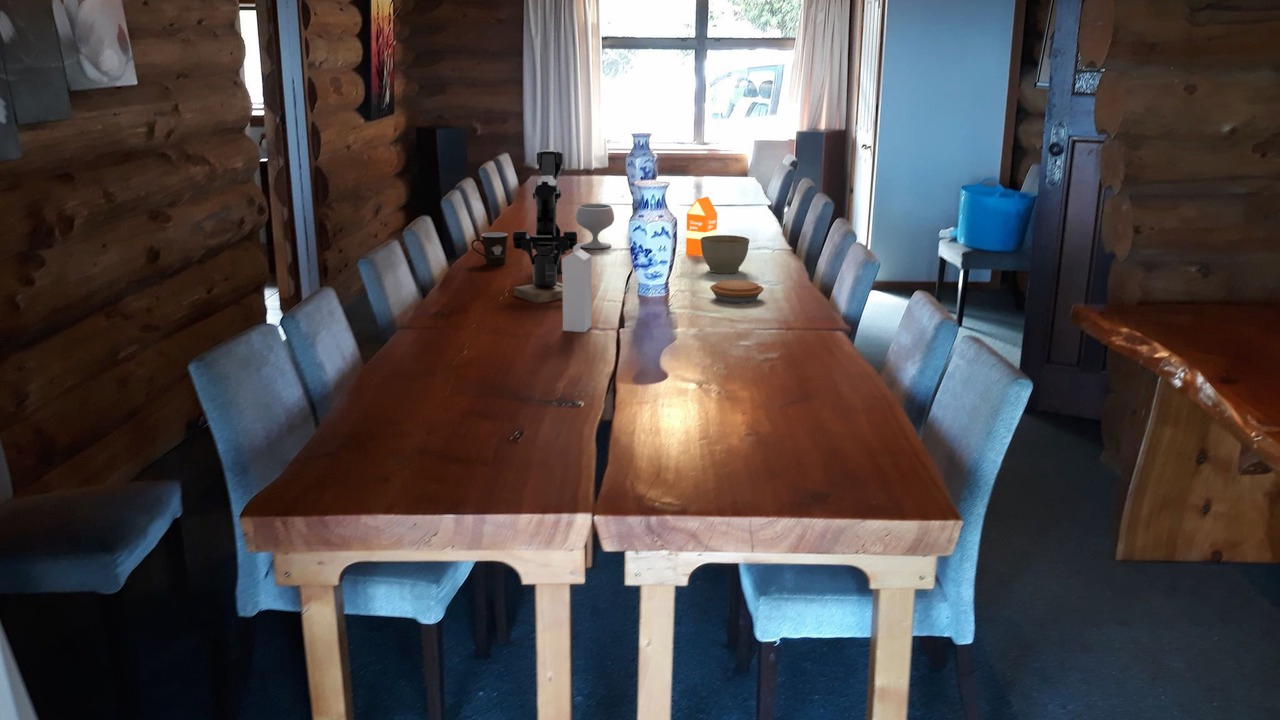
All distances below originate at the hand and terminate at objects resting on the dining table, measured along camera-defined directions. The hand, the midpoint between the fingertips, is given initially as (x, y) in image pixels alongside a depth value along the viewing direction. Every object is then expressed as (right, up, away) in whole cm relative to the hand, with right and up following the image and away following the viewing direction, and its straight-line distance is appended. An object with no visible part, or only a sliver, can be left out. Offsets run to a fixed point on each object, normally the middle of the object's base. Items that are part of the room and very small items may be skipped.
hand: (544, 264), depth 296 cm
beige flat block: (0, -9, +4) cm, 10 cm away
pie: (+56, -10, +3) cm, 57 cm away
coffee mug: (-23, +5, +49) cm, 54 cm away
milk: (+11, -20, -31) cm, 39 cm away
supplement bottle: (0, -6, +3) cm, 7 cm away
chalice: (+11, +14, +83) cm, 84 cm away
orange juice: (+50, +10, +72) cm, 88 cm away
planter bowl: (+55, +1, +42) cm, 70 cm away
